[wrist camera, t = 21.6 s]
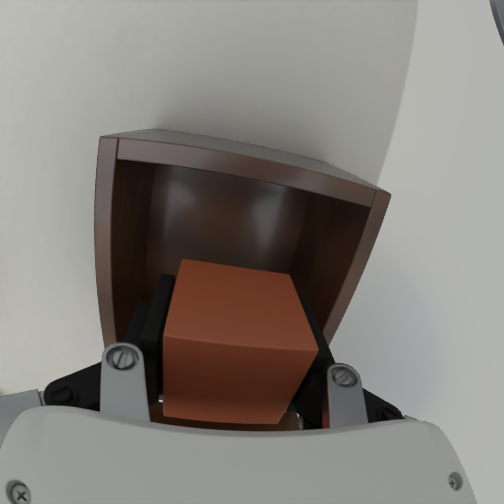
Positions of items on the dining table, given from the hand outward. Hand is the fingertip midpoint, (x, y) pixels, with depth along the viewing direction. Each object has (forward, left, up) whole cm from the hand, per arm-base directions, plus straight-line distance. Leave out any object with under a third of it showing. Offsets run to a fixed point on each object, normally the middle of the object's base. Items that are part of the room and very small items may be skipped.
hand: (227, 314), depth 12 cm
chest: (+1, +1, -10) cm, 10 cm away
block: (0, 0, 0) cm, 0 cm away
